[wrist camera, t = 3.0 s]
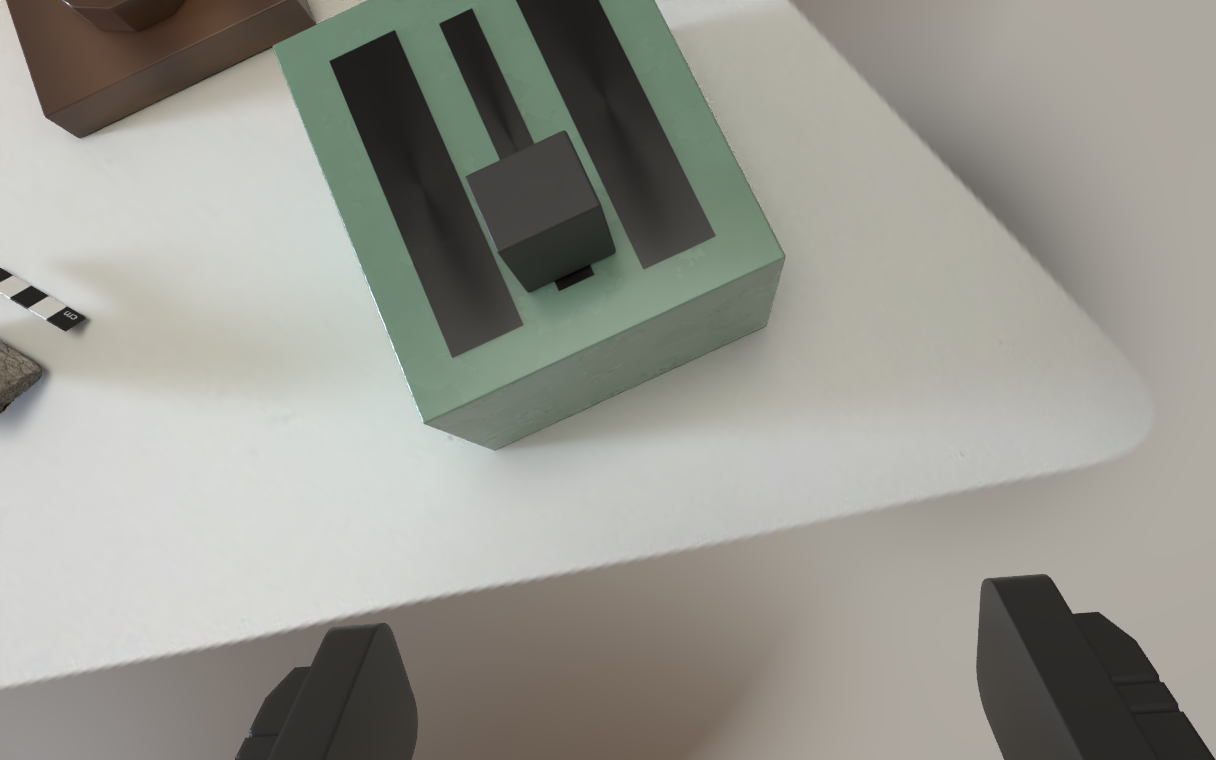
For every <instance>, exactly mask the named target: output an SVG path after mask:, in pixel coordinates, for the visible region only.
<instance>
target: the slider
mask: <svg viewBox="0 0 1216 760" xmlns="http://www.w3.org/2000/svg"><path fill="white" fill-rule="evenodd" d="M465 181H466V184H467V186H468V188H469V190H470V193H471V195H472V197H473V200H474V202H475V204H476V206H477V209H478V211H479V213H480V216H481V218H482V220H483V222H484V225H485V227H486V229H487V232H488V234H489V236H490V238H491V241H492V243H493V245H494V248H495V250H496V252H497V253H498V255H499V256H500V257H501V259H502V260H503V261H504V263H505V264H506V265H507V267H508V268H509V269H510V271H511V272H512V273H513V274H514V276H515V277H516V278H517V280H518V281H519V282H520V284H521V285H522V286H523V288H524V289H525V290H526V291H527V292H532V291H534V290H536V289H538V288H541V287H543V286H545V285H547V284H549V283H551V282H553V281H556V280H558V279H560V278H562V277H564V276H566V275H569V274H571V273H573V272H575V271H577V270H579V269H581V268H584V267H586V266H588V265H590V264H592V263H594V262H597V261H599V260H601V259H603V258H605V257H607V256H609V255H612V254H614V253H615V252H616V248H615V245H614V242H613V239H612V236H611V233H610V230H609V227H608V224H607V221H606V218H605V215H604V212H603V209H602V206H601V203H600V201H599V199H598V197H597V195H596V192H595V190H594V188H593V186H592V184H591V182H590V180H589V178H588V175H587V173H586V171H585V169H584V167H583V165H582V163H581V161H580V158H579V156H578V154H577V152H576V150H575V148H574V146H573V144H572V141H571V139H570V137H569V135H568V133H567V132H566V131H565V130H563V131H561V132H558V133H556V134H554V135H552V136H550V137H548V138H546V139H544V140H541V141H539V142H537V143H535V144H533V145H531V146H529V147H527V148H524V149H522V150H520V151H518V152H516V153H514V154H512V155H510V156H507V157H505V158H503V159H501V160H499V161H497V162H495V163H493V164H490V165H488V166H486V167H484V168H482V169H480V170H478V171H476V172H473V173H471V174H469V175H467V176H466V177H465Z"/></svg>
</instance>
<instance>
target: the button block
mask: <svg viewBox="0 0 1216 760" xmlns="http://www.w3.org/2000/svg"><path fill="white" fill-rule="evenodd" d="M6 2H7V5H8V8H9V11H10V14H11V17H12V20H13V23H14V26H15V29H16V32H17V35H18V38H19V41H20V44H21V47H22V50H23V53H24V56H25V59H26V62H27V65H28V69H29V72H30V75H31V78H32V81H33V84H34V87H35V90H36V93H37V96H38V99H39V102H40V105H41V108H42V111H43V114H44V116H45V117H46V118H47V119H49V120H50V121H52V122H54V123H55V124H57V125H58V126H60V127H62V128H63V129H65V130H66V131H68V132H70V133H71V134H73V135H74V136H76V137H78V138H81V137H84V136H86V135H88V134H90V133H92V132H94V131H96V130H98V129H100V128H102V127H104V126H106V125H109V124H111V123H113V122H115V121H117V120H119V119H121V118H123V117H125V116H127V115H129V114H132V113H134V112H136V111H138V110H140V109H142V108H144V107H146V106H148V105H150V104H152V103H154V102H157V101H159V100H161V99H163V98H165V97H167V96H169V95H171V94H173V93H175V92H177V91H180V90H182V89H184V88H186V87H188V86H190V85H192V84H194V83H196V82H198V81H200V80H202V79H205V78H207V77H209V76H211V75H213V74H215V73H217V72H219V71H221V70H223V69H225V68H228V67H230V66H232V65H234V64H236V63H238V62H240V61H242V60H244V59H246V58H248V57H250V56H253V55H255V54H257V53H259V52H261V51H263V50H265V49H267V48H269V47H271V46H273V45H275V44H277V43H279V42H282V41H284V40H286V39H288V38H290V37H292V36H294V35H296V34H298V33H300V32H302V31H304V30H307V29H309V28H311V27H313V26H315V25H316V23H315V20H314V18H313V15H312V13H311V10H310V8H309V6H308V3H307V1H306V0H6Z"/></svg>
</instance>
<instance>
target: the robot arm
mask: <svg viewBox="0 0 1216 760" xmlns="http://www.w3.org/2000/svg"><path fill="white" fill-rule="evenodd" d="M976 667H977V680H978V687H979V692H980V697H981V701H982V705H983V708H984V711H985V714H986V716H987V719H988V721H989V724H990V726H991V729H992V731H993V734H994V736H995V738H996V741H997V743H998V745H999V748H1000V750H1001V753H1002V755H1003V758H1004V760H1215V758H1214V757H1213V755H1212V754H1211V753H1210V751H1209V749H1208V748H1207V746H1206V745H1205V743H1204V742H1203V740H1202V739H1201V738H1200V736H1199V735H1198V733H1197V731H1196V730H1195V728H1194V727H1193V726H1192V724H1191V722H1190V721H1189V720H1188V718H1187V717H1186V715H1185V714H1184V712H1180V710H1179V708H1178V703H1177V702H1176V700H1175V699H1174V697H1173V696H1172V694H1171V693H1170V691H1169V690H1168V688H1167V687H1166V685H1165V684H1164V682H1160V680H1159V675H1158V673H1157V672H1156V670H1155V669H1154V667H1153V666H1152V664H1151V663H1150V661H1149V660H1148V658H1147V657H1146V655H1145V654H1144V652H1143V651H1142V649H1141V648H1140V646H1139V645H1138V643H1137V642H1136V640H1134V639H1133V638H1132V637H1130V636H1129V635H1128V634H1127V633H1125V632H1124V631H1123V630H1121V629H1120V628H1119V627H1117V626H1116V625H1115V624H1113V623H1112V622H1111V621H1110V620H1108V619H1107V618H1106V617H1104V616H1103V615H1102V614H1100V613H1099V612H1091V613H1077V614H1072V612H1071V610H1070V609H1069V607H1068V606H1067V604H1066V602H1065V600H1064V599H1063V597H1062V595H1061V594H1060V592H1059V590H1058V589H1057V587H1056V585H1055V584H1054V582H1053V581H1052V580H1051V578H1050V577H1049V576H1047V575H1045V574H1038V575H1025V576H1012V577H999V578H987V579H985V580H984V581H983V583H982V586H981V596H980V613H979V629H978V646H977V665H976ZM417 729H418V718H417V707H416V702H415V698H414V695H413V692H412V689H411V686H410V683H409V680H408V677H407V674H406V671H405V668H404V665H403V662H402V659H401V656H400V653H399V650H398V647H397V644H396V641H395V638H394V635H393V632H392V630H391V628H390V627H389V625H387V624H386V623H376V624H364V625H350V626H337V627H332V628H331V629H330V630H329V631H328V632H327V633H326V635H325V637H324V639H323V641H322V644H321V646H320V648H319V650H318V652H317V654H316V656H315V658H314V661H313V663H312V665H311V667H299V668H294V669H293V670H292V671H291V672H290V673H289V674H288V675H287V676H286V677H285V678H284V680H282V681H281V683H280V684H279V685H278V686H277V687H276V688H275V689H274V690H273V691H272V692H271V693H270V694H269V695H268V696H267V697H266V698H265V700H264V703H263V704H262V706H261V708H260V710H259V712H258V714H257V716H256V718H255V720H254V722H253V724H252V726H251V728H250V730H249V738H245V740H244V742H243V744H242V746H241V748H240V750H239V752H238V754H237V756H236V758H235V760H411V759H412V756H413V753H414V749H415V745H416V740H417Z"/></svg>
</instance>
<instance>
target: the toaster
mask: <svg viewBox="0 0 1216 760" xmlns="http://www.w3.org/2000/svg"><path fill="white" fill-rule="evenodd" d="M273 50H274V52H275V55H276V57H277V60H278V62H279V65H280V67H281V70H282V72H283V75H284V77H285V80H286V82H287V85H288V87H289V90H290V92H291V95H292V97H293V100H294V102H295V105H296V107H297V110H298V112H299V115H300V117H301V120H302V122H303V125H304V127H305V130H306V132H307V135H308V137H309V140H310V142H311V145H312V147H313V150H314V152H315V155H316V157H317V160H318V162H319V165H320V167H321V170H322V172H323V175H324V177H325V180H326V182H327V185H328V187H329V190H330V192H331V195H332V197H333V200H334V202H335V205H336V207H337V210H338V212H339V215H340V217H341V220H342V222H343V225H344V227H345V230H346V232H347V235H348V237H349V240H350V242H351V245H352V247H353V250H354V252H355V255H356V257H357V259H358V262H359V264H360V267H361V269H362V272H363V274H364V277H365V279H366V282H367V284H368V287H369V289H370V292H371V294H372V297H373V299H374V302H375V304H376V307H377V309H378V312H379V314H380V317H381V319H382V322H383V324H384V327H385V329H386V332H387V334H388V337H389V339H390V342H391V344H392V347H393V349H394V352H395V354H396V357H397V359H398V362H399V364H400V367H401V369H402V372H403V374H404V377H405V379H406V382H407V384H408V387H409V389H410V392H411V394H412V397H413V399H414V402H415V404H416V407H417V409H418V412H419V414H420V417H421V419H422V422H423V423H424V424H426V425H428V426H431V427H434V428H436V429H439V430H442V431H444V432H447V433H449V434H452V435H455V436H457V437H460V438H463V439H465V440H468V441H471V442H473V443H476V444H478V445H481V446H484V447H486V448H489V449H492V450H497V449H499V448H501V447H503V446H506V445H508V444H510V443H512V442H514V441H516V440H519V439H521V438H523V437H525V436H527V435H530V434H532V433H534V432H536V431H538V430H540V429H543V428H545V427H547V426H549V425H551V424H554V423H556V422H558V421H560V420H562V419H564V418H567V417H569V416H571V415H573V414H575V413H578V412H580V411H582V410H584V409H586V408H588V407H591V406H593V405H595V404H597V403H599V402H602V401H604V400H606V399H608V398H610V397H612V396H615V395H617V394H619V393H621V392H623V391H625V390H628V389H630V388H632V387H634V386H636V385H639V384H641V383H643V382H645V381H647V380H649V379H652V378H654V377H656V376H658V375H660V374H663V373H665V372H667V371H669V370H671V369H673V368H676V367H678V366H680V365H682V364H684V363H687V362H689V361H691V360H693V359H695V358H697V357H700V356H702V355H704V354H706V353H708V352H711V351H713V350H715V349H717V348H719V347H721V346H724V345H726V344H728V343H730V342H732V341H735V340H737V339H739V338H741V337H743V336H745V335H748V334H750V333H752V332H754V331H756V330H759V329H761V328H763V327H765V326H766V325H767V322H768V318H769V315H770V311H771V307H772V304H773V300H774V296H775V293H776V289H777V286H778V282H779V278H780V275H781V271H782V267H783V264H784V260H785V254H784V252H783V250H782V248H781V246H780V244H779V243H778V241H777V239H776V237H775V235H774V233H773V231H772V229H771V227H770V225H769V223H768V221H767V219H766V217H765V215H764V213H763V211H762V209H761V207H760V205H759V203H758V202H757V200H756V198H755V196H754V194H753V192H752V190H751V188H750V186H749V184H748V182H747V180H746V178H745V176H744V174H743V172H742V170H741V168H740V166H739V164H738V162H737V160H736V159H735V157H734V155H733V153H732V151H731V149H730V147H729V145H728V143H727V141H726V139H725V137H724V135H723V133H722V131H721V129H720V127H719V125H718V123H717V121H716V119H715V118H714V116H713V114H712V112H711V110H710V108H709V106H708V104H707V102H706V100H705V98H704V96H703V94H702V92H701V90H700V88H699V86H698V84H697V82H696V80H695V78H694V77H693V75H692V73H691V71H690V69H689V67H688V65H687V63H686V61H685V59H684V57H683V55H682V53H681V51H680V49H679V47H678V45H677V43H676V41H675V39H674V37H673V36H672V34H671V32H670V30H669V28H668V26H667V24H666V22H665V20H664V18H663V16H662V14H661V12H660V10H659V8H658V6H657V4H656V2H655V0H367V1H365V2H363V3H361V4H359V5H357V6H355V7H352V8H350V9H348V10H346V11H344V12H342V13H340V14H338V15H336V16H334V17H332V18H330V19H327V20H325V21H323V22H321V23H319V24H317V25H315V26H313V27H311V28H309V29H307V30H304V31H302V32H300V33H298V34H296V35H294V36H292V37H290V38H288V39H286V40H284V41H282V42H279V43H277V44H275V45H273ZM563 130H565V131H566V132H567V133H568V135H569V137H570V139H571V141H572V144H573V146H574V148H575V150H576V152H577V154H578V156H579V158H580V161H581V163H582V165H583V167H584V169H585V171H586V173H587V175H588V178H589V180H590V182H591V184H592V186H593V188H594V190H595V192H596V195H597V197H598V199H599V201H600V203H601V206H602V209H603V212H604V215H605V218H606V221H607V224H608V227H609V230H610V233H611V236H612V239H613V242H614V245H615V248H616V252H615V253H614V254H612V255H609V256H607V257H605V258H603V259H601V260H599V261H597V262H594V263H592V264H590V265H588V266H586V267H584V268H581V269H579V270H577V271H575V272H573V273H571V274H569V275H566V276H564V277H562V278H560V279H558V280H556V281H553V282H551V283H549V284H547V285H545V286H543V287H541V288H538V289H536V290H534V291H532V292H527V291H526V290H525V289H524V288H523V286H522V285H521V284H520V282H519V281H518V280H517V278H516V277H515V276H514V274H513V273H512V272H511V271H510V269H509V268H508V267H507V265H506V264H505V263H504V261H503V260H502V259H501V257H500V256H499V255H498V253H497V252H496V250H495V248H494V245H493V243H492V241H491V238H490V236H489V234H488V232H487V229H486V227H485V225H484V222H483V220H482V218H481V216H480V213H479V211H478V209H477V206H476V204H475V202H474V200H473V197H472V195H471V193H470V190H469V188H468V186H467V184H466V181H465V177H466V176H467V175H469V174H471V173H473V172H476V171H478V170H480V169H482V168H484V167H486V166H488V165H490V164H493V163H495V162H497V161H499V160H501V159H503V158H505V157H507V156H510V155H512V154H514V153H516V152H518V151H520V150H522V149H524V148H527V147H529V146H531V145H533V144H535V143H537V142H539V141H541V140H544V139H546V138H548V137H550V136H552V135H554V134H556V133H558V132H561V131H563Z"/></svg>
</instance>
